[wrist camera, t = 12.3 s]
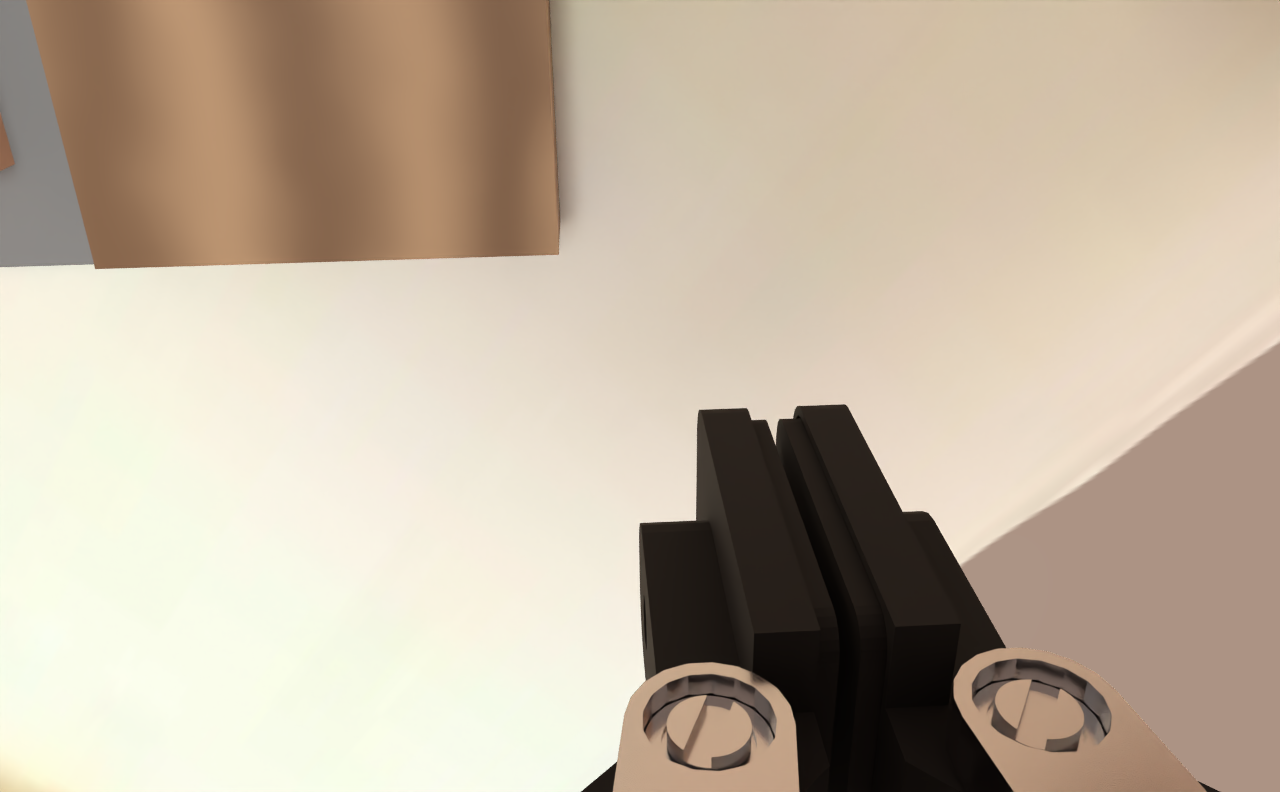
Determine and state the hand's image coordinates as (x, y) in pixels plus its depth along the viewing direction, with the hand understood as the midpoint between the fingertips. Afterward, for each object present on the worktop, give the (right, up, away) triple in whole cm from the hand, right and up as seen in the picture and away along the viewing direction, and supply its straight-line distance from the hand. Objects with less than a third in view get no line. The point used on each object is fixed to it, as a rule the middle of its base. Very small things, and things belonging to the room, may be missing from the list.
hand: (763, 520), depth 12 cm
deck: (-13, +14, +25) cm, 31 cm away
